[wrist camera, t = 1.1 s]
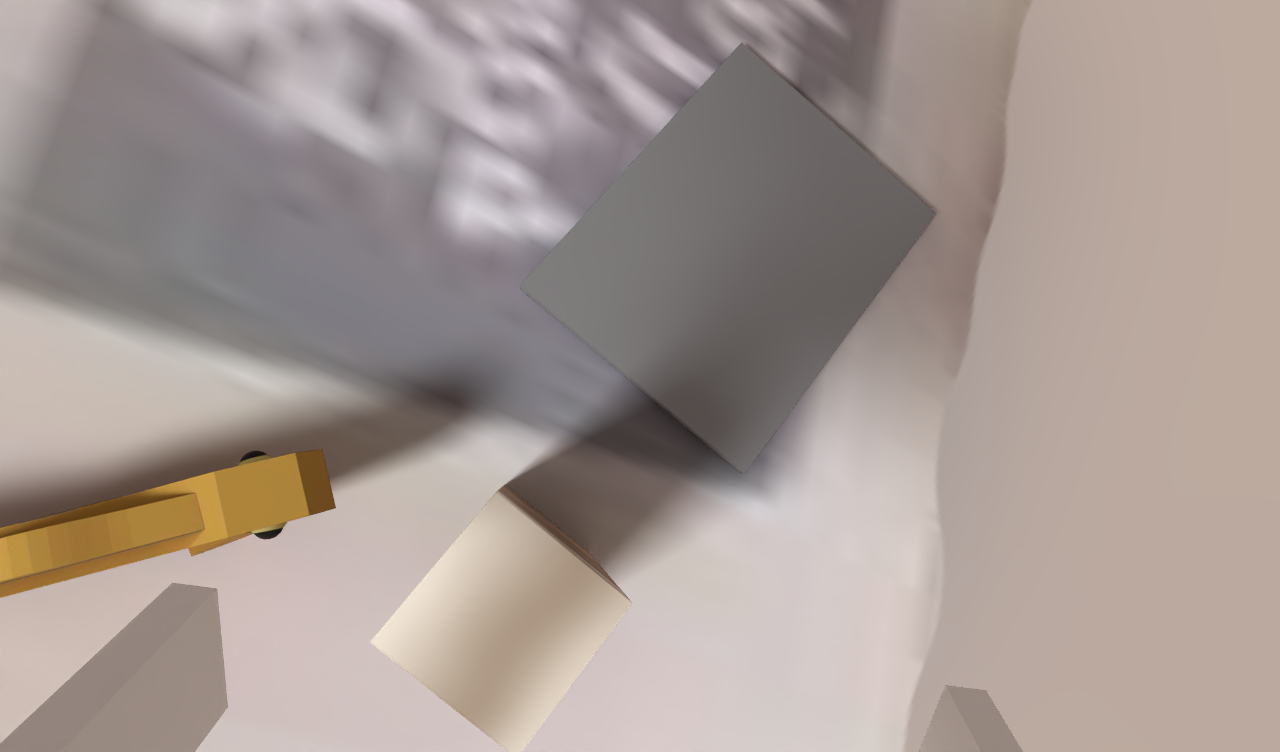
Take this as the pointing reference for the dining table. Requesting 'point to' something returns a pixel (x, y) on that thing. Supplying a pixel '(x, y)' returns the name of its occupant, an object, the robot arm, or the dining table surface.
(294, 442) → the dining table surface
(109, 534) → the decorative fish
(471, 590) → the walnut block
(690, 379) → the charcoal rubber mat
